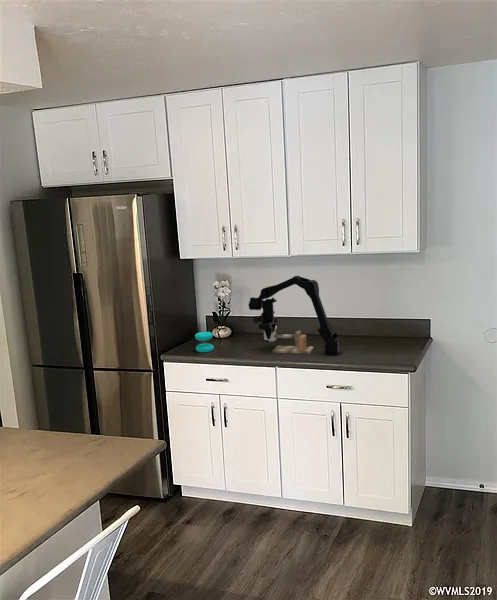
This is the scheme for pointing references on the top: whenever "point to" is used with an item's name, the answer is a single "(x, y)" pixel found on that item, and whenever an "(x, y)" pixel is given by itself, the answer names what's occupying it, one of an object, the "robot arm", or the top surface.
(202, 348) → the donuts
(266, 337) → the medicine bottle
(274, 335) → the shaft
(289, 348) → the bracket
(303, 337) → the spacer
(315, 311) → the robot arm
